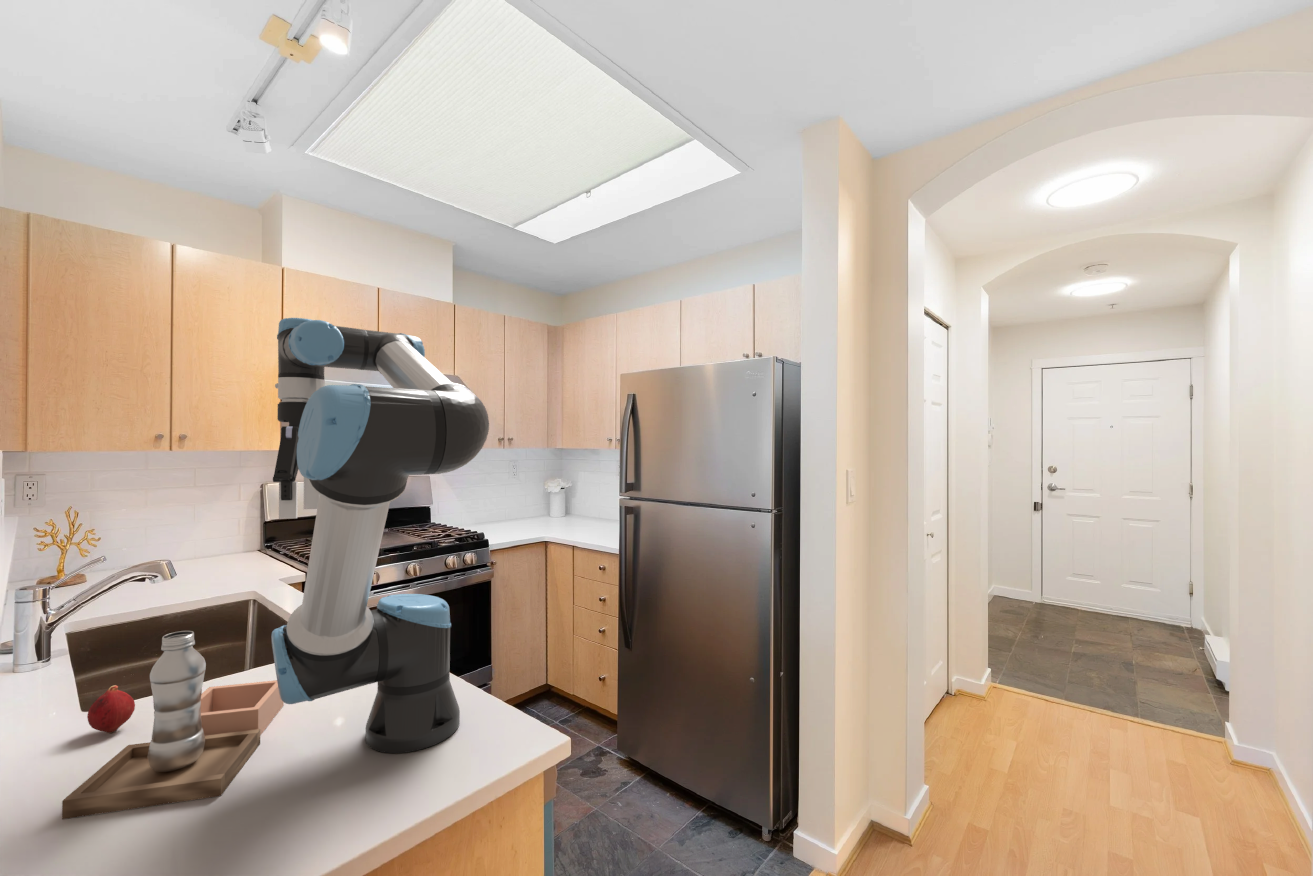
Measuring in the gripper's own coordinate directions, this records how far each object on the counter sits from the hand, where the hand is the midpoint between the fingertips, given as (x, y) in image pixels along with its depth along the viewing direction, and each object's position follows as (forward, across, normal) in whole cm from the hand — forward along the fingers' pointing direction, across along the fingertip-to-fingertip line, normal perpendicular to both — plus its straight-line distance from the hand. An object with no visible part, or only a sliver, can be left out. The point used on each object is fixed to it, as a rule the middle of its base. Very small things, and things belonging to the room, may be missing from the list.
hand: (300, 513), depth 106 cm
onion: (+37, +2, -28) cm, 46 cm away
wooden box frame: (+37, +5, -9) cm, 38 cm away
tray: (+37, +20, -11) cm, 43 cm away
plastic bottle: (+36, +18, -11) cm, 42 cm away
